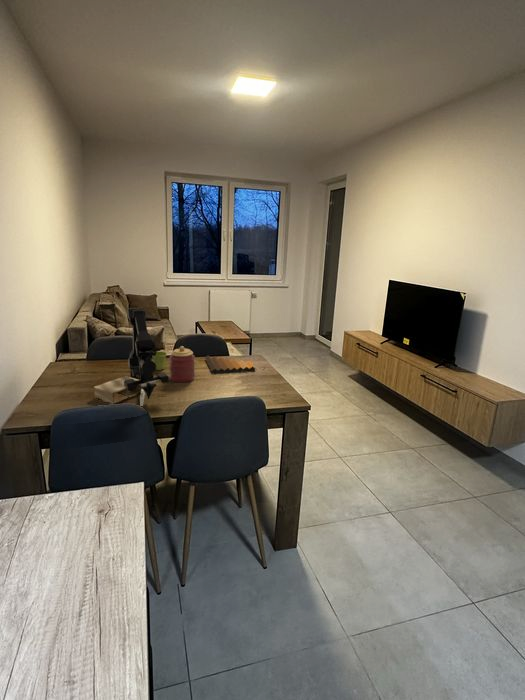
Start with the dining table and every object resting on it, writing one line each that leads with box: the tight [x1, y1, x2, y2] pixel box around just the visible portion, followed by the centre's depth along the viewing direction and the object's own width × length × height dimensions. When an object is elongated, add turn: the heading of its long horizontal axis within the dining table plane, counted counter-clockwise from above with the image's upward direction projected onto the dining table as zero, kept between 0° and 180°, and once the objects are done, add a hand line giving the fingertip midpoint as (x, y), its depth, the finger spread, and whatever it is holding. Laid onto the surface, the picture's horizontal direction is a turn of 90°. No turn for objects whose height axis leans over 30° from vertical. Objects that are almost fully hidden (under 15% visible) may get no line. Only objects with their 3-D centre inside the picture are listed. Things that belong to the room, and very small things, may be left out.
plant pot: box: [152, 351, 168, 371], centre depth 223 cm, size 9×9×9 cm
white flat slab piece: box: [139, 389, 146, 407], centre depth 181 cm, size 18×1×5 cm, turn 12°
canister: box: [169, 345, 196, 383], centre depth 208 cm, size 13×13×18 cm
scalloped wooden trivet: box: [204, 355, 256, 374], centre depth 234 cm, size 25×3×25 cm
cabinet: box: [93, 375, 142, 403], centre depth 186 cm, size 18×12×6 cm, turn 149°
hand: (148, 398), depth 179 cm, fingers closed
